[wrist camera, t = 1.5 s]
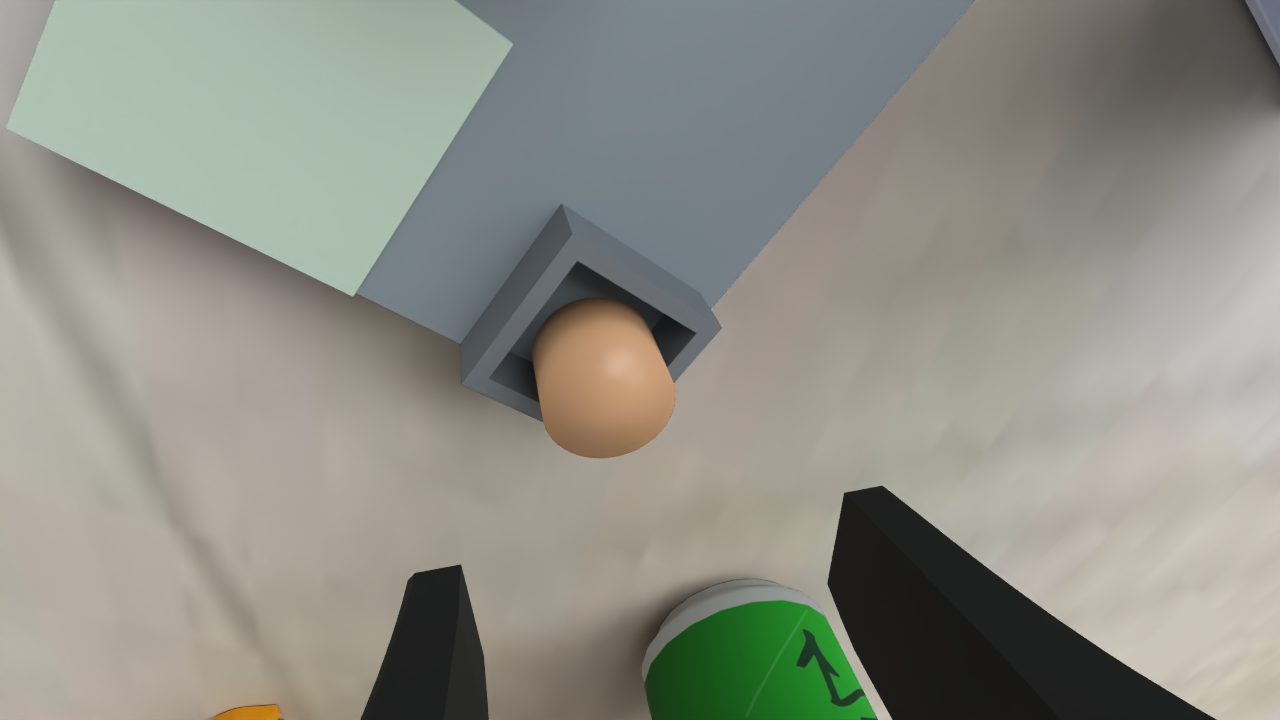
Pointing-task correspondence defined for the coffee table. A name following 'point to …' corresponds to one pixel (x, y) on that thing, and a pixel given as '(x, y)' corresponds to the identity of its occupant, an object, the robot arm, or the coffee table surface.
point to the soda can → (750, 659)
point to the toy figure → (251, 713)
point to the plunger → (601, 378)
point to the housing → (481, 142)
